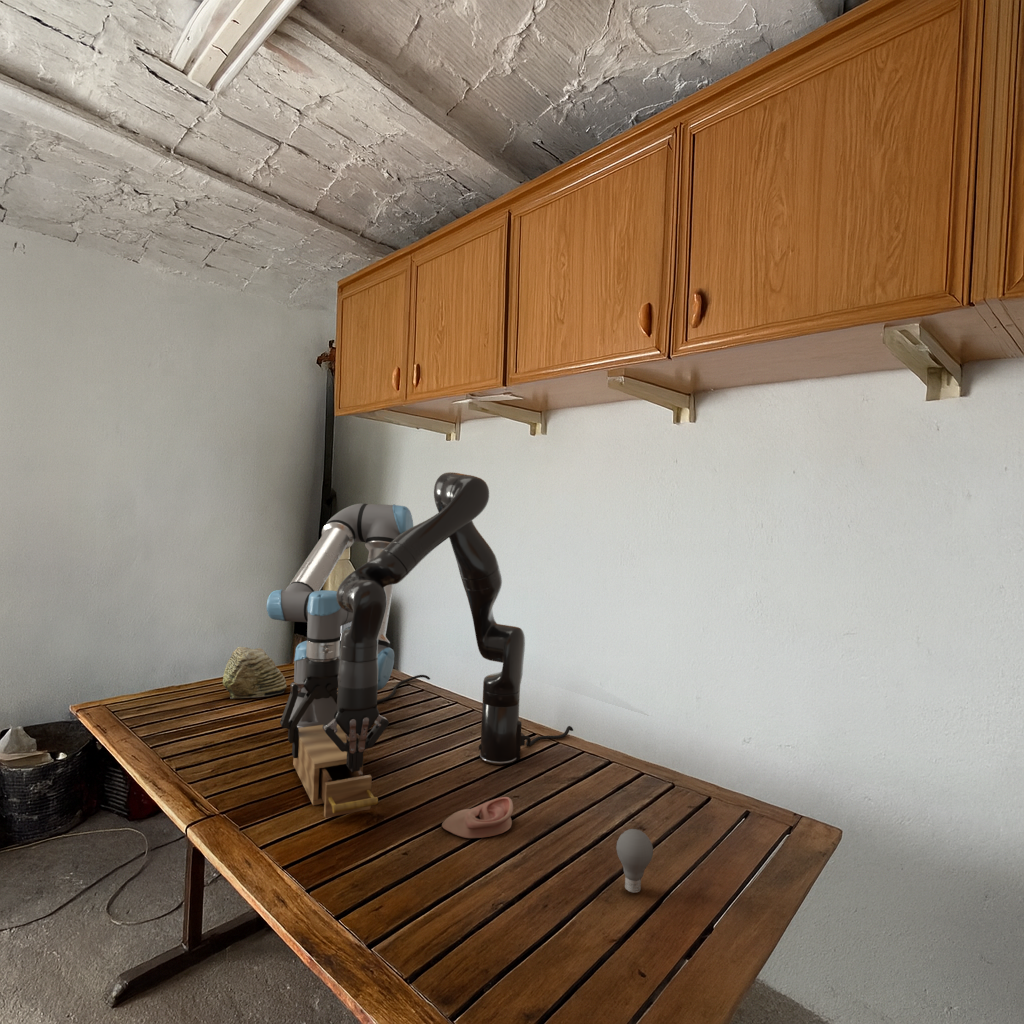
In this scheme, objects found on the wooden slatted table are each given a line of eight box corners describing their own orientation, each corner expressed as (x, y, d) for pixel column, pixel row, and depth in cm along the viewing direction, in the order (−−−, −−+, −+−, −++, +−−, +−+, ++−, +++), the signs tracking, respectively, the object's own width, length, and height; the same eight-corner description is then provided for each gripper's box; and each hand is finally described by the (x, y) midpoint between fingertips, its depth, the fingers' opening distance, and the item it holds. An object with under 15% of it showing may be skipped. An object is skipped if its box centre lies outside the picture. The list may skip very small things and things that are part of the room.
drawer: (378, 821, 123) (380, 787, 123) (331, 831, 118) (333, 796, 118) (344, 769, 145) (345, 741, 145) (304, 776, 141) (305, 746, 141)
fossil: (218, 695, 195) (220, 647, 195) (278, 685, 208) (279, 640, 207) (228, 703, 189) (230, 653, 188) (289, 692, 201) (290, 645, 201)
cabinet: (361, 796, 135) (363, 756, 135) (312, 805, 130) (314, 764, 130) (336, 757, 154) (338, 722, 154) (293, 764, 149) (294, 728, 149)
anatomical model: (437, 813, 121) (454, 787, 132) (436, 833, 121) (454, 805, 132) (505, 823, 118) (517, 795, 129) (504, 844, 118) (516, 815, 129)
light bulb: (610, 879, 108) (613, 822, 108) (644, 879, 109) (647, 822, 109) (619, 902, 102) (622, 840, 102) (655, 901, 103) (658, 840, 103)
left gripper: (273, 666, 139) (270, 766, 139) (375, 657, 150) (372, 750, 150) (268, 658, 145) (265, 753, 146) (366, 650, 156) (363, 739, 157)
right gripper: (327, 690, 116) (324, 784, 116) (397, 682, 122) (393, 771, 122) (318, 679, 122) (315, 768, 123) (385, 672, 129) (381, 757, 129)
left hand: (319, 752), depth 148 cm, fingers open, 10 cm apart
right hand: (354, 769), depth 123 cm, fingers closed
